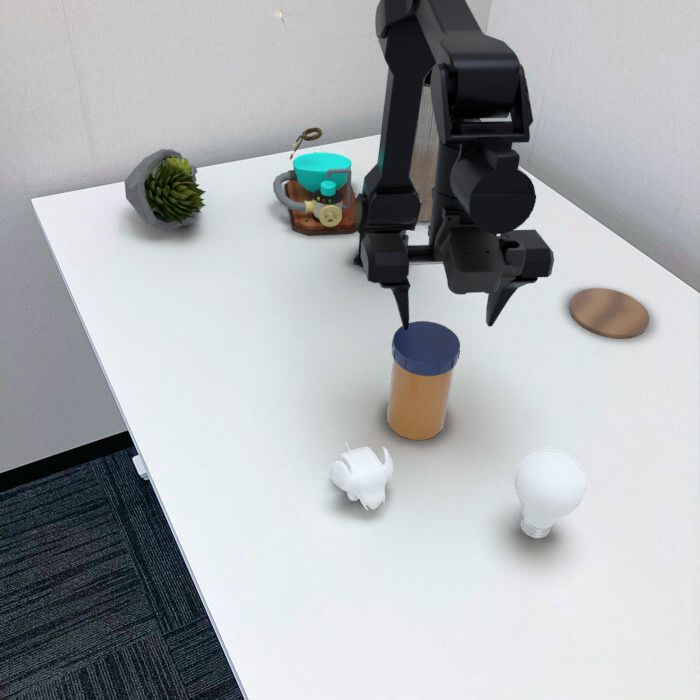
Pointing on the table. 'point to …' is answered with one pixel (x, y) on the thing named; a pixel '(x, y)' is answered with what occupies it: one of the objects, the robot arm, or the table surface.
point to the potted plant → (165, 190)
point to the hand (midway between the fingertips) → (447, 326)
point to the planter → (425, 152)
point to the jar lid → (426, 348)
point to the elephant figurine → (363, 475)
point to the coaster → (609, 313)
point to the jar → (417, 403)
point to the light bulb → (548, 489)
